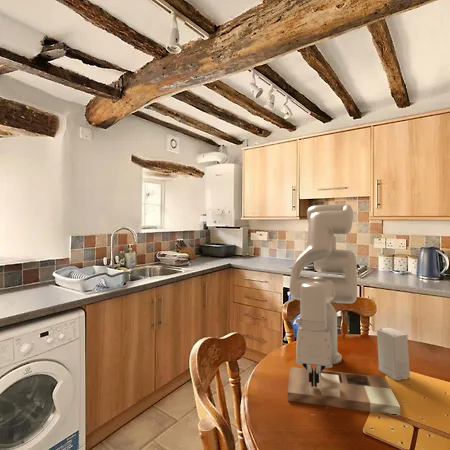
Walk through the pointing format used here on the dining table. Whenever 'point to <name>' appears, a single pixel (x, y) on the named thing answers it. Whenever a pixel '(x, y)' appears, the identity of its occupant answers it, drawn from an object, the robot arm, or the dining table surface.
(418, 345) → the dining table surface
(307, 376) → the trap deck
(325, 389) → the maple block
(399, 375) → the skincare box
